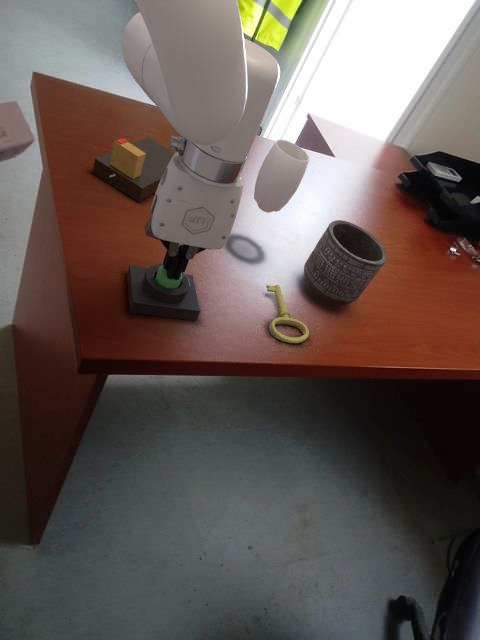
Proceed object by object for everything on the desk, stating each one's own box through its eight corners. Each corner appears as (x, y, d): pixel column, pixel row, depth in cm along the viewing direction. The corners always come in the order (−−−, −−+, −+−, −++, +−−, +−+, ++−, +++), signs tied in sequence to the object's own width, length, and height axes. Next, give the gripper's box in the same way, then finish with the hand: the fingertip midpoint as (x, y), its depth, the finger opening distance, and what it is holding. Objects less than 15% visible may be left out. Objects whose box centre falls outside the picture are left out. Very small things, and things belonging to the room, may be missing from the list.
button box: (129, 313, 65) (135, 292, 62) (126, 275, 70) (132, 255, 67) (196, 321, 70) (204, 302, 67) (189, 285, 74) (196, 266, 72)
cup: (220, 244, 86) (265, 141, 72) (239, 232, 91) (284, 134, 77) (250, 266, 85) (301, 167, 71) (268, 253, 90) (318, 158, 77)
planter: (309, 263, 95) (341, 212, 86) (357, 298, 94) (394, 249, 85) (285, 286, 85) (318, 231, 77) (338, 325, 84) (377, 274, 76)
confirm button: (156, 288, 66) (159, 279, 64) (154, 271, 68) (157, 262, 67) (180, 291, 67) (184, 283, 66) (177, 275, 69) (181, 266, 68)
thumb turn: (140, 175, 84) (146, 152, 81) (132, 179, 82) (138, 155, 79) (117, 161, 84) (122, 136, 81) (109, 164, 82) (114, 139, 79)
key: (273, 290, 83) (278, 282, 82) (310, 341, 78) (316, 333, 77) (242, 294, 79) (247, 285, 77) (280, 348, 74) (285, 340, 72)
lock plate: (130, 207, 82) (134, 191, 80) (83, 177, 82) (85, 161, 79) (185, 175, 97) (189, 161, 95) (145, 150, 97) (149, 136, 95)
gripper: (152, 157, 49) (120, 282, 61) (275, 191, 55) (223, 297, 68) (146, 123, 53) (117, 246, 65) (261, 158, 60) (215, 264, 72)
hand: (171, 272), depth 66 cm, fingers closed
